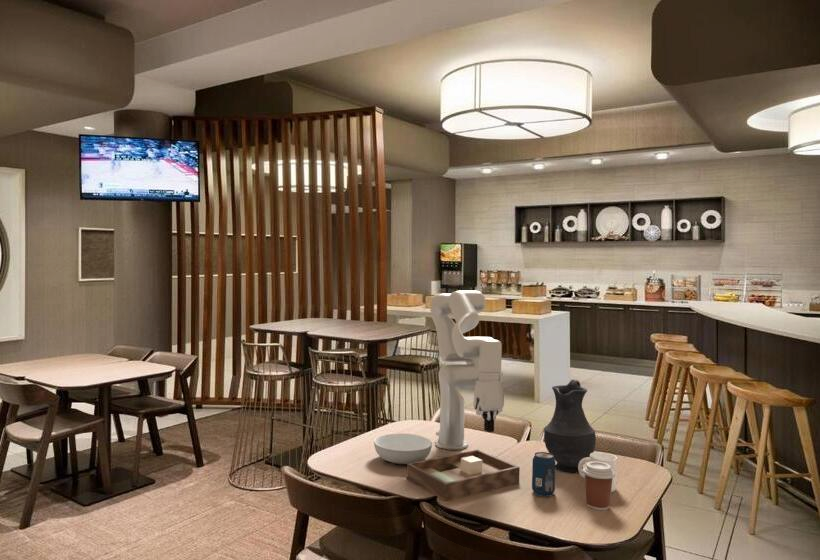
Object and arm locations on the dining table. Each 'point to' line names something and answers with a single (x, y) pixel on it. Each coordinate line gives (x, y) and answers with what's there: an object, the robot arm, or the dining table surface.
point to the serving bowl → (402, 447)
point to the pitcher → (569, 429)
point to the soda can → (543, 474)
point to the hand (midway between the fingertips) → (489, 431)
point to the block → (471, 465)
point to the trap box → (461, 475)
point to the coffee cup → (598, 484)
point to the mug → (603, 458)
